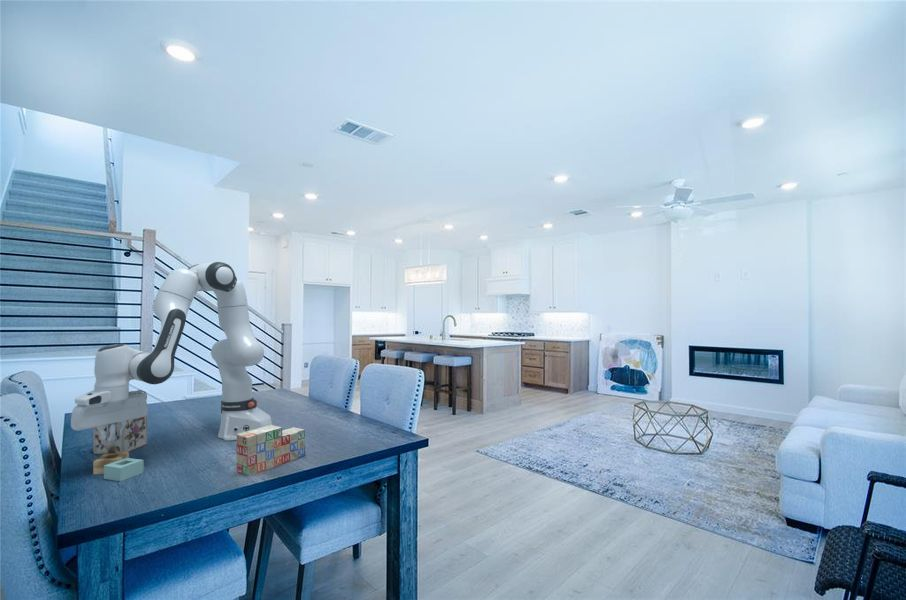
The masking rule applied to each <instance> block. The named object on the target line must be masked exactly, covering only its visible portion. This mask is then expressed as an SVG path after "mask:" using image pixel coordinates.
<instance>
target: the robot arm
mask: <svg viewBox="0 0 906 600" xmlns="http://www.w3.org/2000/svg"><path fill="white" fill-rule="evenodd" d="M198 292H213V294H214V295H215V297H216V305H217V315H218V317H217V318H218V325H219V327H220V329H221V330H222V331H223V332H224V334H225V337H226V338H223V339H220V340H218V341H216V342H215V343H213V345H212V347H211V349H210V355H211V357H212V359H213V361H215V363H216V366H217V369H218V371H219V375H220V379H221V380H220V381H221V395H222V396H221V401H220V413H221V419H220V420H221V421H220V425H219V428H218V429H219V431H218V434H217V438H220V439H222V440H224V441H226V442H227V441H237V434H240V433H243V432H247V431H251V430H255V429H258V428H261V427H265V426H269V425H273V421H272V417H271V415H270V414H268V413H267V412H265V411H264V410H262V409H261V408H259V407H258V402H259V399H255V398H253V379H252V377H251V375H250V374H249V373H248V370H247V367H253V366H256V365H258V364H260V363H261V361H263V359H264V356H265V348H264V347H263V345H262V344H261V343H260V342H259V340H258V339H257V337H256V335H255V333H254V331H253V328H252V326H251V323H250V322H251V321H250V316H249V307H248V306H249V305H248V299H247V297H248V296H247V293H246V290H245V286H244V284H243V282H242V281H241V280H239V279H237V276H236V273H235V271H234V269H233V267H232V266H231V265H230V264H227V263H226V262H222V261H215V262H214V261H208V262H202V263H200V264H197V263H196V264H194V265H192V266H190V267H188V268H184V267H183V268H182V267H180V268H174V269H173V270H171V271H170V272H169V274H168V275H167V277H165V279H164V280H163V283H162V284H161V286H160V287H159V289H158V291H157V293H156V295H155V297H154V301H153V305H152V310H153V312H154V314H155V316H156V317H157V318H158V319H159V321H160V323H161V324H160V325H161V327H160V331H159V334H158V336H157V339H156V342H155V344H154V348H153V349H152V350H151V351H150V352H148V351H142V350H139V349H135V348H133V347H130V346H129V345H127V344H125V343H116V344H113V343H112V344H108V345H105V346H102V347H100V348H99V349H98V350H97V351H96V352H95V353H96V354H95V358H94V369H93V371H94V377H95V383H94V385H93V390H91V391H88V392H86V393H84V394H82V395H79V396H77V397H75V398H74V404H75V406H74V407H73V409H72V412H71V417H70V428H71V429H72V430H74V431H78V432H79V431H85V430H89V429H93V428H94V427H97V430H98V431H99V432H100V433H101V439H107V438H109V433H107V432H105V431H104V430H103V429H105V425H108V424H113V423H118V424H120V425H119V427H118V428H117V430H116V436H120V435H122V430H123V428H124V426H125V425H126V421H127V420H132V419H136V418H141V417H145V416H146V415H147V416H148V413H149V408H148V403H147V399H148V393H147V391H145V390H143V389H137V390H131V391H129V390H130V385H129V384H130V381H133V380H136V381H140V382H143V383H146V384H148V385H159V384H162V383H165V382H166V381H168V380H169V379H170V377H172V375H173V373H174V370H175V356H176V353H177V348H178V346H179V343H180V340H181V337H182V335H183V331H184V328H185V325H186V321H187V315H188V313H189V310H190V307H191V305H192V303H193V301H194V298H195V296H196V294H197V293H198Z"/></svg>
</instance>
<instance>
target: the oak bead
mask: <svg viewBox="0 0 906 600" xmlns="http://www.w3.org/2000/svg"><path fill="white" fill-rule="evenodd" d="M125 458H130V452H123V453H112V454H101V455H100V456H99V457H98V458H97V459H95V460H93V461H92V462H93V463H92V464H93V465H92V467H93V469H92V470H93V472H92V474H93V475H99V474H101V475H102V474H104V465H107V464H110V463H113V462H116V461H119V460H122V459H125Z"/></svg>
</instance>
